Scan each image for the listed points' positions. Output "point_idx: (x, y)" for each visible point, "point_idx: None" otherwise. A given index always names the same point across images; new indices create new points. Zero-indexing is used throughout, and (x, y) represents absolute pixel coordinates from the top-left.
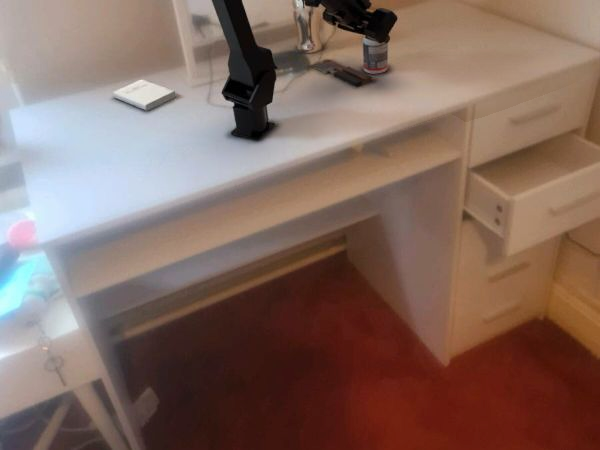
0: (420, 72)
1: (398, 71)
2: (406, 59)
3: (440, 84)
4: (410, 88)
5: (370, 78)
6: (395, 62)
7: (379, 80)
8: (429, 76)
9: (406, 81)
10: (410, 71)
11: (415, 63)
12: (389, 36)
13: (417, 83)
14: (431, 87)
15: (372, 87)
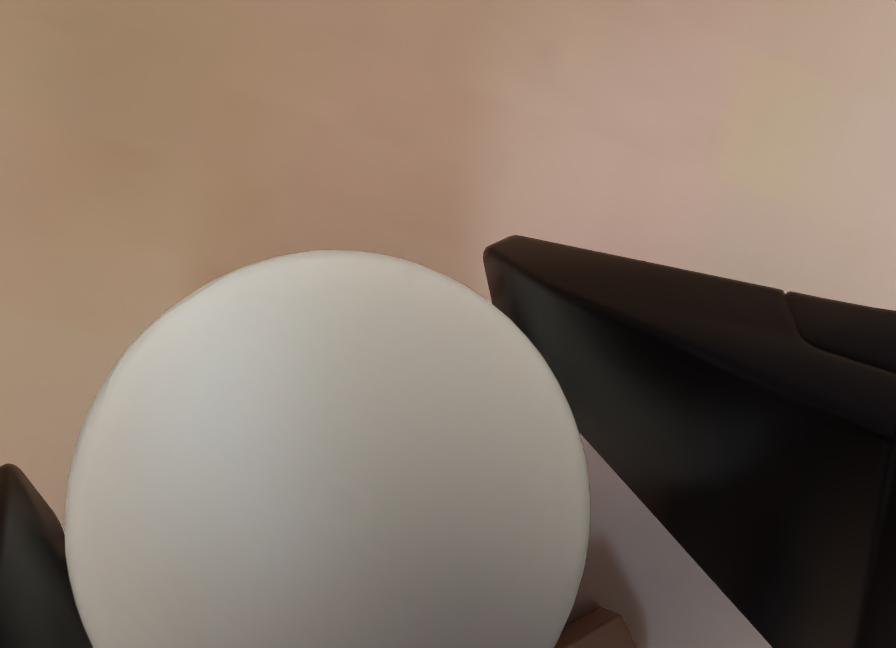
0: (555, 74)
1: (456, 264)
2: (173, 83)
3: (847, 16)
4: (862, 278)
5: (625, 628)
6: (204, 219)
7: (610, 518)
8: (667, 35)
9: (711, 264)
10: (499, 152)
11: (321, 38)
12: (562, 245)
13: (779, 185)
14: (884, 104)
15: (752, 632)
